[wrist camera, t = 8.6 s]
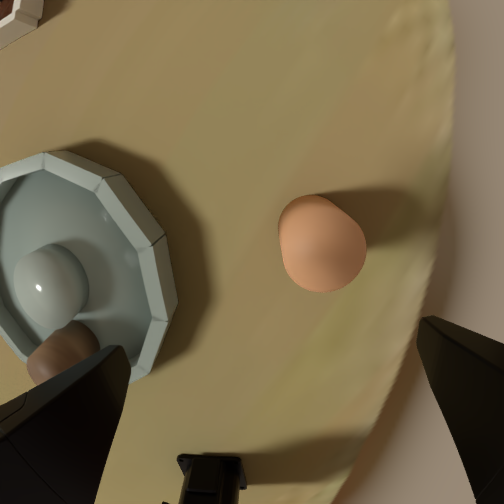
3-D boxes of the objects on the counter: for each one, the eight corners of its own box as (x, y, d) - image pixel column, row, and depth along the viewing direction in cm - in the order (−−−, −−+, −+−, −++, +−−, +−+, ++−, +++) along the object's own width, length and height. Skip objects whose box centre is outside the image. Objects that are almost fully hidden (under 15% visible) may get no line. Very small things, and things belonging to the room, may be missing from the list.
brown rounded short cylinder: (106, 363, 22) (80, 404, 17) (68, 360, 22) (40, 396, 18) (91, 320, 21) (58, 357, 16) (52, 319, 21) (18, 352, 17)
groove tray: (195, 377, 23) (187, 405, 20) (28, 363, 24) (12, 381, 21) (152, 129, 18) (131, 126, 15) (-25, 182, 19) (-50, 188, 16)
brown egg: (343, 255, 20) (365, 288, 15) (280, 261, 20) (285, 295, 15) (341, 193, 18) (366, 207, 14) (275, 197, 19) (279, 213, 14)
